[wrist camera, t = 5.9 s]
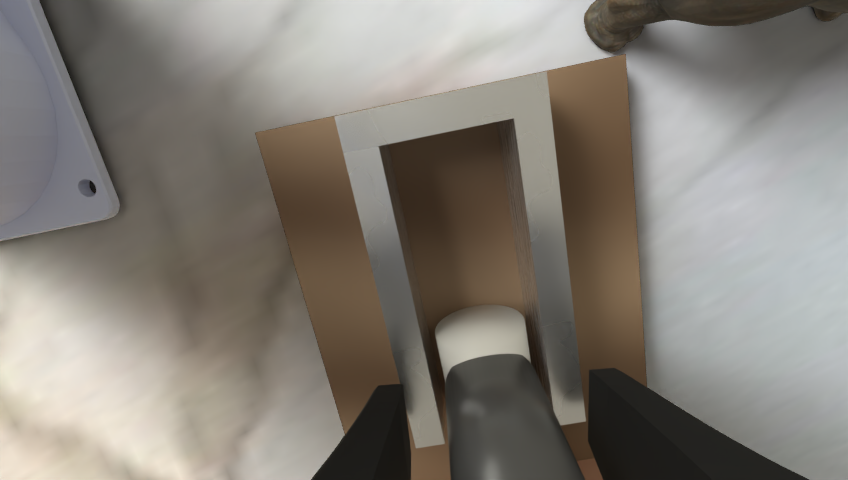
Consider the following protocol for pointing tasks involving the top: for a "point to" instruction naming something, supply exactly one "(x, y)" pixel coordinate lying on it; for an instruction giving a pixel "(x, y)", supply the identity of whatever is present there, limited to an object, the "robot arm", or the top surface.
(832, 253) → the top surface
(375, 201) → the channel
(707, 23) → the rhino figurine
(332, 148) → the board
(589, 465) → the socket
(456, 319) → the bolt
